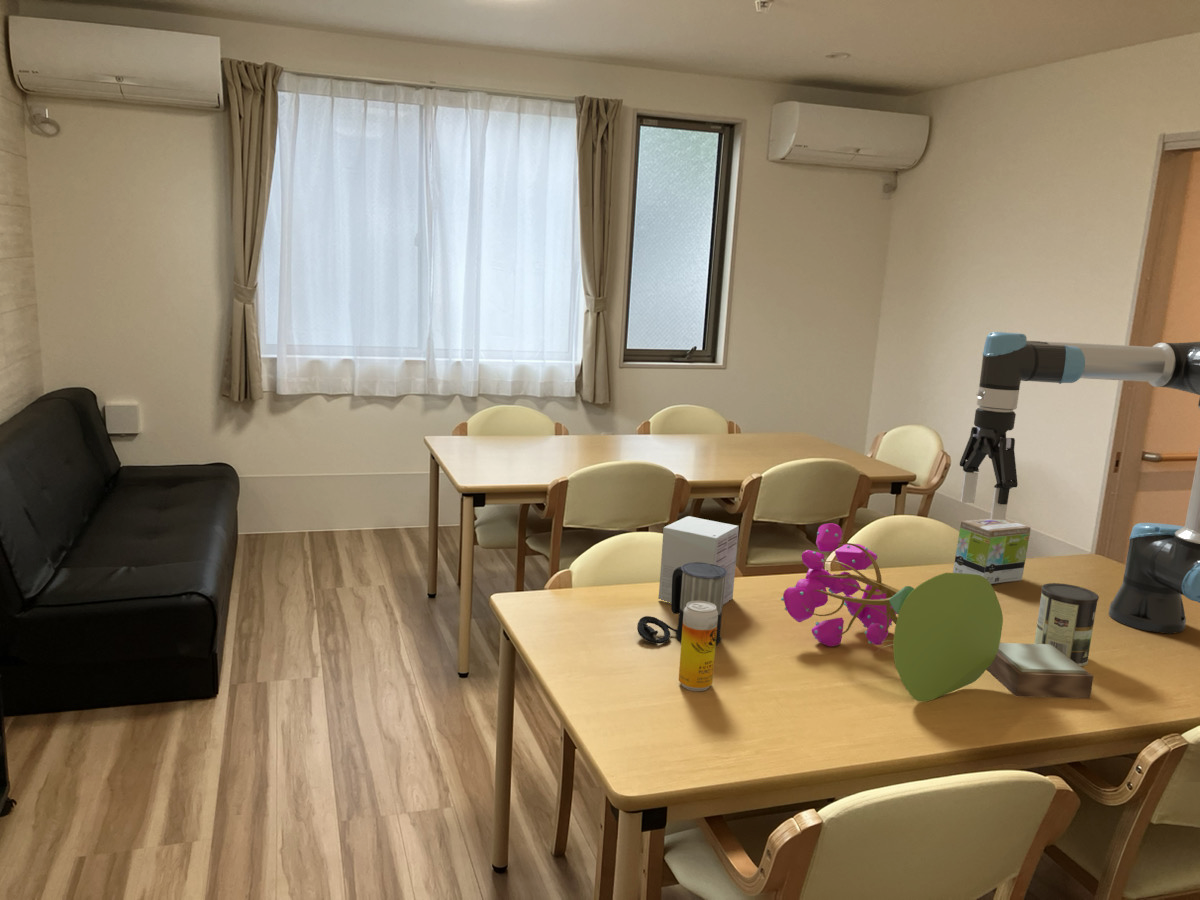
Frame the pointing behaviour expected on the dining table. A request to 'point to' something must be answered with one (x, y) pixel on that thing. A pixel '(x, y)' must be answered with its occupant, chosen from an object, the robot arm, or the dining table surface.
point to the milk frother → (689, 597)
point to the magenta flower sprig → (905, 616)
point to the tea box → (992, 549)
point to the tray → (1039, 672)
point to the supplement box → (698, 550)
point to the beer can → (698, 645)
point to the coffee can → (1067, 620)
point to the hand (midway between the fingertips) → (981, 510)
